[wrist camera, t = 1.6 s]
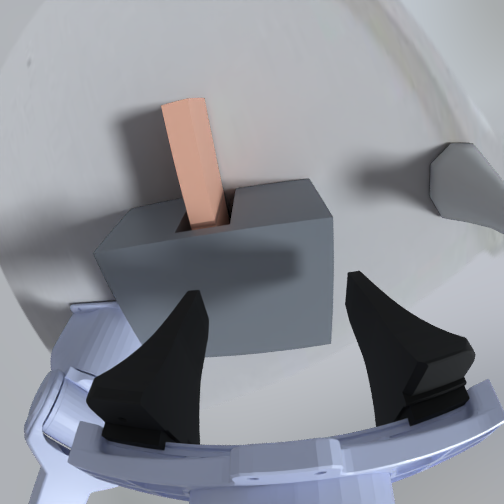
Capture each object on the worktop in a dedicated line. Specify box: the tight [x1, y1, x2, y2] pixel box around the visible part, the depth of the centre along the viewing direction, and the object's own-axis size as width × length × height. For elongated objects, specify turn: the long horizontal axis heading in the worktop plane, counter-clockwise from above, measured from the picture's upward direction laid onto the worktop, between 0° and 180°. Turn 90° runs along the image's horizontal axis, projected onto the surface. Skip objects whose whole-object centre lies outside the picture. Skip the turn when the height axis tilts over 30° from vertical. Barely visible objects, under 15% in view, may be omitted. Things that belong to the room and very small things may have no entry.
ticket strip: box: [161, 98, 230, 230], centre depth 18 cm, size 1×16×5 cm, turn 9°
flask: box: [430, 143, 504, 234], centre depth 15 cm, size 7×7×10 cm
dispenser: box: [93, 179, 334, 357], centre depth 20 cm, size 14×10×7 cm
